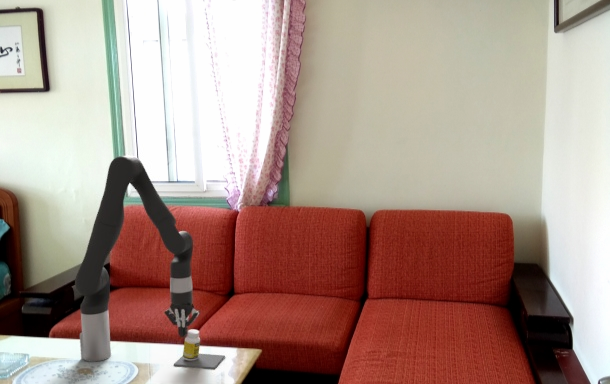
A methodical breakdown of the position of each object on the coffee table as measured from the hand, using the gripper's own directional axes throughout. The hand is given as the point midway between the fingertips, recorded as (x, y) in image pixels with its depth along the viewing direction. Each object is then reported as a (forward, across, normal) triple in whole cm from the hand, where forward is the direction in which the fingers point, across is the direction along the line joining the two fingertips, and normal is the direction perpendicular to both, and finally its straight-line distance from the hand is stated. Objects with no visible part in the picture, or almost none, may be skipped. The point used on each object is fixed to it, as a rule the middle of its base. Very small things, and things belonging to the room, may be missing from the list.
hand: (183, 336), depth 190 cm
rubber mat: (+9, -6, 0) cm, 11 cm away
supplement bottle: (+8, -2, 0) cm, 8 cm away
